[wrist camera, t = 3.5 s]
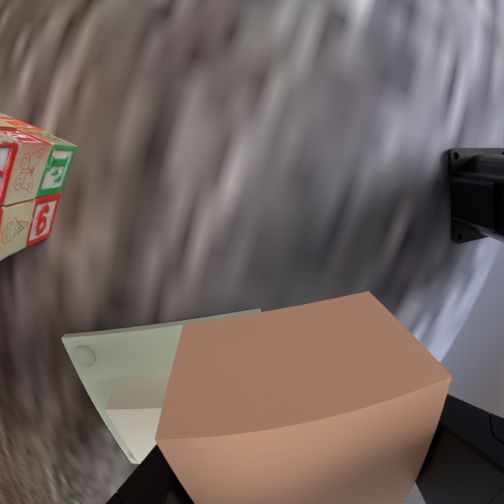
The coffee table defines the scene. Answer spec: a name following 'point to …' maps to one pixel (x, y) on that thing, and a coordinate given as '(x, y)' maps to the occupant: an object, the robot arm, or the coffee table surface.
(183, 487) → the robot arm
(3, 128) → the stack of blocks
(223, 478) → the brick terracotta
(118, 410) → the brick cream
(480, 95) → the coffee table surface
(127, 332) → the baseplate
